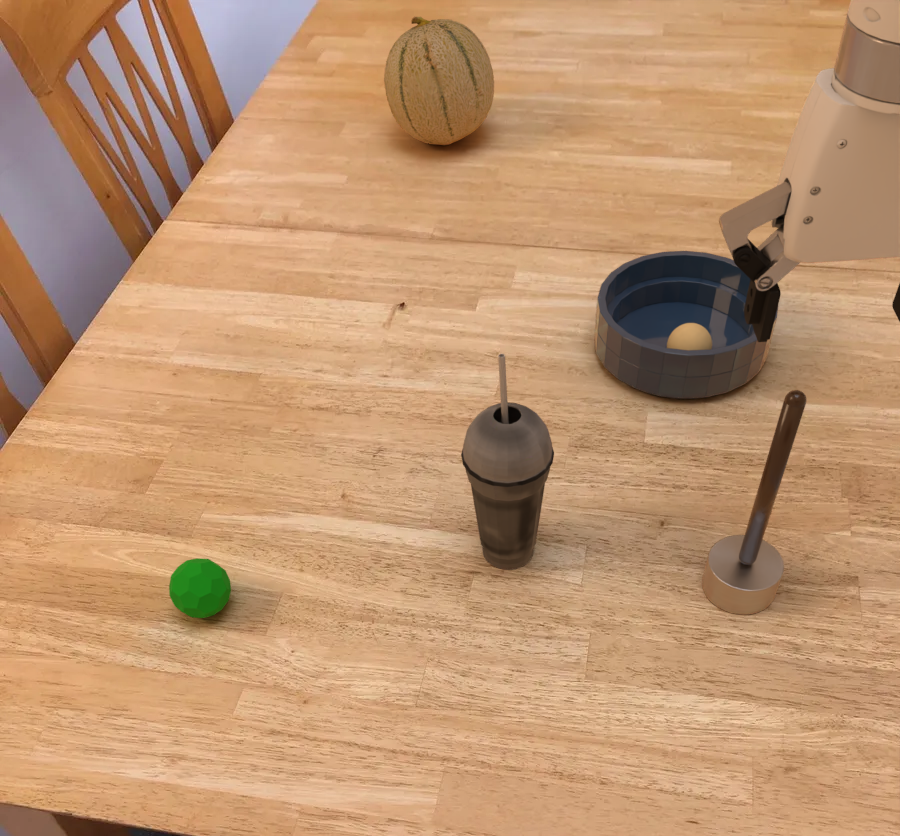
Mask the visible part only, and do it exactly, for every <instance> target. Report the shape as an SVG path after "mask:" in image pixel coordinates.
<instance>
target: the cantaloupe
mask: <svg viewBox="0 0 900 836" xmlns="http://www.w3.org/2000/svg"><path fill="white" fill-rule="evenodd" d="M410 22H411V25H412V24H413V25H414V24H416V25H415V26H412V27H410V29H408V30H406V31H405V32H404V33H402V34H401V35H400V36H399V37H398V38H397V39H396V41H395V42H394V43H393V44H392V47H391V48H390V50H389V52H388V55H387V58H386V61H385V66H384V73H383V74H384V75H383V76H384V77H383V83H384V89H385V90H384V91H385V96H386V100H387V103H388V107H389V109H390V112H391V113H392V116H393V118H394V119H395V121H396V123H397V124H398V125H399V126H400V128H401V129H402V130H403V131H404V132H405V133H407V134H408V135H409V136H410V137H411V138H413V139H415V140H417V141H419V142H422V143H424V144H428V143H429V144H430V145H440V146H448V145H451V144H453V143H456V142H458V141H460V140H462V139H464V138H466V137H467V136H469V135H471V134H472V133H474V132H475V131H476V130H478V129H479V128H480V127H481V126H482V124H483V123H484V121H485V120H486V118H487V117H488V115H489V113H490V111H491V108H492V105H493V100H494V95H495V76H494V69H493V66H492V62H491V59H490V56H489V54H488V51H487V49H486V47H485V46H484V43H483V42H482V41H481V39H480V38H479V37H478V36H477V34H476V33H475V32H473V30H471V28H470V27H468V26H467V25H465V24H463V23H461V22H459V21H457V20H453V19H448V18H444V19H443V18H439V19H431V20H427V19H424V18H423V17H422V16H413V17H412V18H411V21H410Z"/></svg>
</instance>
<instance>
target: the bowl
mask: <svg viewBox="0 0 900 836" xmlns="http://www.w3.org/2000/svg"><path fill="white" fill-rule="evenodd" d="M749 284H750V278H749V277H748V276H747V275H746V274H745V273H744V272H743V271H742V270H740V269H739V268H738V267H737V266H736V264H735V263H734V260H733V258H732V259H731V258H730V257H726V256H722V255H717V254H715V253H709V252H706V251H705V252H704V251H693V250H671V251H669V250H667V251H660V252H659V251H658V252H655V253H650V254H645V255H641V256H639V257H636V258H634V259H631V260H628V261H625V262H623V263H622V264H621V265H620V266H618V267H616V268H615V269H613V270H612V271H611V272H610V273H609V274H608V275H607V277H606V278H605V279H604V281H603V282H602V283H601V284H600V287H599V291H598V294H597V299H596V312H595V325H594V336H593V341H594V349H595V354H596V356H597V358H598V359H599V361H600V362H601V364H602V366H603V367H604V368H605V369H606V370H607V371H608V372H609V373H610V374H612V375H613V376H614V378H616V380H618V381H620V382H622V383H623V384H624V383H625V384H626V385H628V386H630V387H631V388H633V389H636V390H637V391H640V392H643V393H645V394H649V395H652V396H657V397H661V398H666V399H676V400H694V399H695V400H696V399H703V398H709V397H710V398H711V397H713V396H718V395H722V394H727V393H729V392H731V391H734V390H736V389H738V388H740V387H742V386H744V385H745V384H747V383H749V382H750V380H753V378H754V377H755V376H757V375H758V374H759V373H760V371H761V369H762V367H763V366H764V364H765V363H766V360H767V359H768V358H767V357H768V354H769V350H770V346H771V342H772V338H773V335H774V331H775V327H776V323H777V320H778V316H779V315H778V313H779V307H778V308H777V312H776V316H775V320H774V324H773V329H772V333H771V337H770V339H769V340H767V342H758V341H757V338H756V335H755V332H754V329H753V326H752V324H747V323H746V321H745V317H744V308H745V303H746V298H747V293H748V288H749ZM686 323H696V324H699V325H701V326H703V327H704V328H705V329H706V330H707V331H708V332H709V334H710V336H711V339H712V349H707V350H681V349H672V348H667V342H668V338H669V336H670V334H671V333H672V332H673V331H674V330H675V329H676V328H677V327H678V326H680V325H682V324H686Z"/></svg>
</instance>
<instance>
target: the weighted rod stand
mask: <svg viewBox="0 0 900 836" xmlns="http://www.w3.org/2000/svg"><path fill="white" fill-rule="evenodd" d="M806 404H807V395H806V393H805V392H804V391H802V390H800V389H793V390H790V391H789V392H787V394H785V397H784V400H783V403H782V406H781V409H780V413H779V416H778V420H777V423H776V427H775V431H774V433H773V437H772V440H771V442H770V443H771V444H770V447H769V450H768V454H767V457H766V460H765V464H764V467H763V470H762V474H761V478H760V480H759V485H758V488H757V491H756V495H755V499H754V500H753V501H754V502H753V505H752V509H751V512H750V515H749V518H748V522H747V524H746V529H745V533H744V534H733V535H729V536H724V537H723V538H721V539H719V540H718V541H716V542H715V543H714V544H713V545H712V546H711V547H710V550H709V551H708V555H707V558H706V562H705V567H704V570H703V575H702V578H701V585H702V590H703V592H704V594H705V595H704V596H706V598H707V600H709V601H710V603H712V604H713V605H714V606H715V607H717V608H719V609H720V610H722V611H724V612H727V613H730V614H735V615H745V616H747V615H753V614H757V613H760V612H763V611H764V610H765V609H767V608H769V607H770V606H771V605H772V603H773V601H774V600H775V598H776V594H777V592H778V589H779V588H780V587H779V586H780V584H781V581H782V578H783V575H784V572H785V563H784V559H783V557H782V555H781V553H780V552H779V550H778V549H777V548H775V546H773V544H771V543H769V542H768V541H767V540H765V539H764V537H765V533H766V530H767V527H768V523H769V521H770V518H771V515H772V512H773V509H774V505H775V502H776V498H777V496H778V493H779V489H780V486H781V483H782V480H783V477H784V474H785V470H786V468H787V465H788V461H789V458H790V456H791V455H790V454H791V452H792V449H793V445H794V442H795V439H796V436H797V433H798V429H799V426H800V423H801V421H802V418H803V414H804V412H805V407H806Z"/></svg>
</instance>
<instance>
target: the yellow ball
mask: <svg viewBox="0 0 900 836" xmlns="http://www.w3.org/2000/svg"><path fill="white" fill-rule="evenodd" d="M667 348H672V349H681V350H707V349H712V339H711V336H710V334H709V332H708V331H707V330H706V329H705V328H704V327H703V326H701V325H699V324H696V323H686V324H682V325H680V326H678V327H677V328H676V329H675V330H674V331H673V332H672V333H671V334H670V336H669V338H668V342H667Z"/></svg>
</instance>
